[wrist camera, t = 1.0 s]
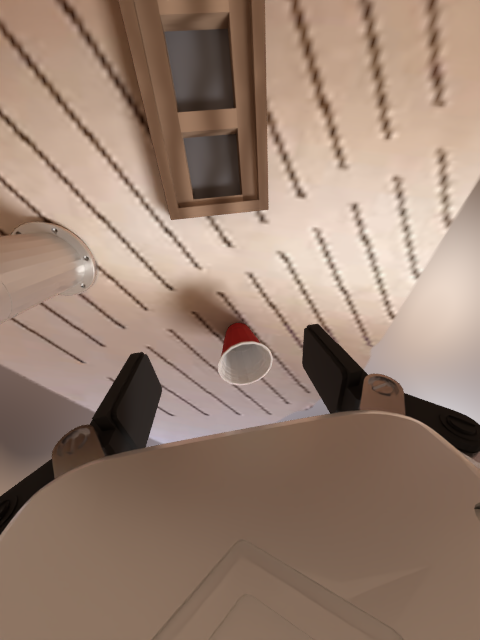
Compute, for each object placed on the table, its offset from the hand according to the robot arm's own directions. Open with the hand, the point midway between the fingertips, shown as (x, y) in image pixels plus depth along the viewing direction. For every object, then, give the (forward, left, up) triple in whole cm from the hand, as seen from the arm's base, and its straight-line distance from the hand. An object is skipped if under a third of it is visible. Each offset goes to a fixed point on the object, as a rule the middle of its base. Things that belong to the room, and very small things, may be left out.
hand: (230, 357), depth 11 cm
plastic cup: (+2, -18, -31) cm, 36 cm away
